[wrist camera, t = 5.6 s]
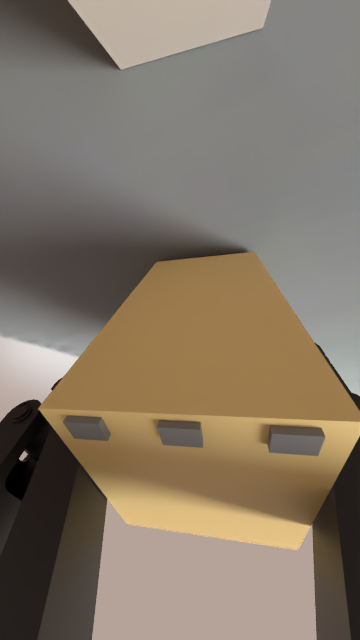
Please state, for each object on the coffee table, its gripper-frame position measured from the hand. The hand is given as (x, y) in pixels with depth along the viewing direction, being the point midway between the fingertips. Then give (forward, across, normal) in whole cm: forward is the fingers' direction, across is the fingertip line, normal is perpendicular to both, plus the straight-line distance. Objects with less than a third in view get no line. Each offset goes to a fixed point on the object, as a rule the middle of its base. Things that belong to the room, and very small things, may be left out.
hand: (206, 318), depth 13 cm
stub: (+2, 0, 0) cm, 2 cm away
